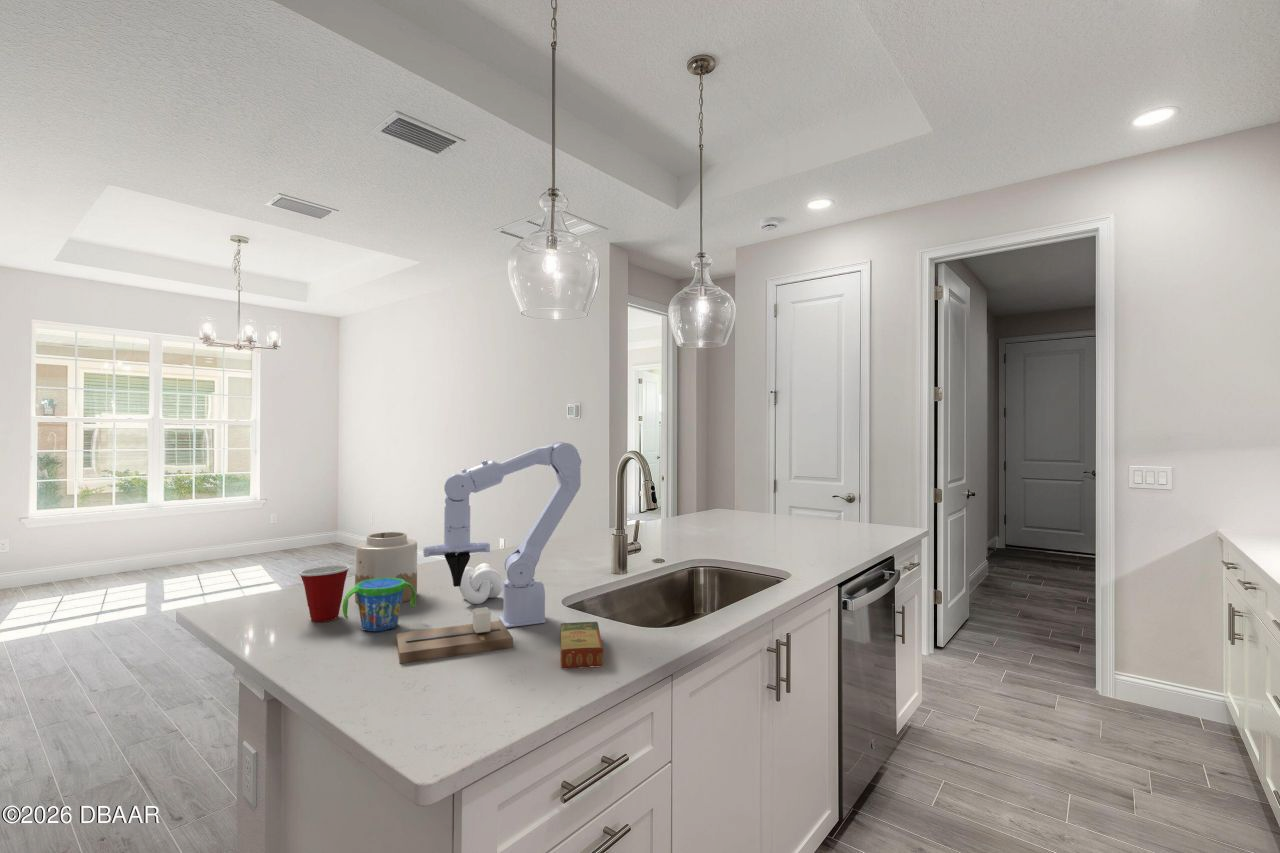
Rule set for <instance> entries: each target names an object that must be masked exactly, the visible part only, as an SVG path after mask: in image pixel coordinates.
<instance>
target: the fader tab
mask: <svg viewBox="0 0 1280 853" xmlns="http://www.w3.org/2000/svg"><path fill="white" fill-rule="evenodd" d="M491 614H492V613H491V611H490V609H489V608H488V607H487V606H486V607H476V608H473V609H472V624H473V628H474V630H475V632H476V633H480V632H488V631H490V623H491V622H492V621H491V620H492V619H491V617H492V616H491Z"/></svg>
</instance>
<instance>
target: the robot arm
mask: <svg viewBox="0 0 1280 853" xmlns="http://www.w3.org/2000/svg"><path fill="white" fill-rule="evenodd" d="M535 465H542V466H548V467H552V468H553V470H554V471H555V472H554V473H555V475H556V476H555V477H556V478H557V481H558V482H557V486H556V488H555V489H554V491H553V492H552V494H551V496H550V497H549V499H548V501H547V503H546V504H545V506H544V508H543V509H542V511H541V513H540V514H539V515H538V517H537V518H536V520H535V521H534V524H533V525H532V527H531V529H530V530H529V532H528V533H527V535H526V537H525V538H524V539H523V541H521V543H520V544H519V545H518V547H517V548H516V549H515V550H514V551H513V552H511V553H510V554H509V555H508V556H507V557H506V559H505V561H504V570H505V572H506V579H505V580H503V583H504V587H503V604H502V605H503V608H502V609H503V614H501V615H499V616H498V618H499V621H502V622H503V624H504V625H505V627H506V628H507V629H508V628H513V627H521V626H530V625H537V624H545V623H546V621H547V620H546V591H545V586H544V582H542V581H536V580H535V578H534V577H535V575H536V568H537V565H538V563H539V561H540V557H541V555H542V551H543V550H544V548H545V547H546V545H547V543H548V541H549V540H550V538H551V536H552V535H553V534H554V531H555V530H556V528H557V527H558V525H559V524H560V522H561V520H562V519H563V516H564V515H565V513H566V512H567V511H568V508H569V506H570V505H571V503H572V502H573V500H574V498H575V497H576V495H577V494H578V492H579V490H580V488H581V484H582V483H581V466H582V459H581V457H580V454H579V452H578V449H577V448H576V447H575V446H574V445H573V444H572V443H568V442H564V441H558V442H554V443H552V444H546V445H541V446H537V447H535V448H533V449H531V450H528V451H526V452H523V453H520V454H519V455H516V456H514V457H511V458H509V459H507V460H504V461H501V462H497V461H495V460H489V461H488V460H487V459H484V460H482V461H481V464H479V465H475V466H473V467H470V468H469V469H466V468H463V469H461V473H454V474H452V475H450V476H449V477H447V479H446V480H445V482H444V493H445V498H444V504H445V506H444V524H443V525H444V526H443V527H444V531H443V532H444V533H443V534H444V536H443V538H444V540H443V541H444V542H443V544H440V545H439V544H437V545H432V546H431V545H430V546H423V547H422V548H423V550H422V551H423V558H428V557H433V556H444V558H445V560H446V563H447V566H448V567H449V571H450V574H451V578H452V585H453V587H459V586H461V580H462V576H463V573H464V570H465V568H466V567H467V565H468V563H469V561H470V558H471V555H470V554H472V553H490V552H491V549H490V548H491V544H490V543H489V542H471V505H470V495H471V493H475V494H477V493H479V492H481V491H484V490H487V489H489V488H492V487H495V486H497V485H500V484H501V483H502V482H503V480H504V477H505V476H507V475H510V474H512V473H515V472H518V471H521V470H524V469H526V468H527V469H528V468H530V467H533V466H535Z"/></svg>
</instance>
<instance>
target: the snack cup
mask: <svg viewBox="0 0 1280 853" xmlns="http://www.w3.org/2000/svg"><path fill="white" fill-rule="evenodd" d="M407 585H408V586H409V587H410V588H411V590H412V596H411V599H410V604H409V605H410V607H411V608H414V607H416V604H417V603H416V602H417V594H416V593H415V590H414V588H413V586H412V585H411V584H409V583H407V582H405V581H404V580H403V579H399V578H375V579H369V580H364V581H361V582H359V583H357V584H356V586H355V585H354V587H353V588H351V589H350V590H349V591H348V592H347V593H346V594H345V596H344V598H343V602H342V614H343V616H344V619H346V620H348V619H349V616H348V609H349V608H348V607H349V599H350V598H351V597H352V596H353V595H355V593H357V597H358V611H359V616H360V623H361V628H362V630H365V631H367V632H382V631H386V630H390V629H395V626H397V625H398V622H399V618H400V612H401V606H402V605H401V604H402V602H401V601H402V595H403V592H404V589H405V586H407Z"/></svg>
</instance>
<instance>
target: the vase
mask: <svg viewBox="0 0 1280 853" xmlns="http://www.w3.org/2000/svg"><path fill="white" fill-rule="evenodd" d="M354 550H355V554H354V557H355V558H354V561H355V562H354V587H355V586H356V584H357V583H359V582H361V581H364V580H369V579H375V578H399V579H403V580H404V581H405V582H407V583H409V584H411V585H412V586H413V588H414V590H415V593H416V595H417V594H418V542H417V541H416V540H414V539H412V538H408V535H407V533H405V532H400V531H386V532H385V531H383V532H375V533H371V534H368V535H367V536H366V541H362V542H359V543H357V544H356V545H355V549H354ZM411 596H412V590H411V588H410V587H409V586H408V585H407V586H405V589H404V592H403V595H402V601H401V603H404V602H409V601H411ZM354 599H355V602H356V603H358V597H357V593H354ZM358 604H359V603H358Z"/></svg>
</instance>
